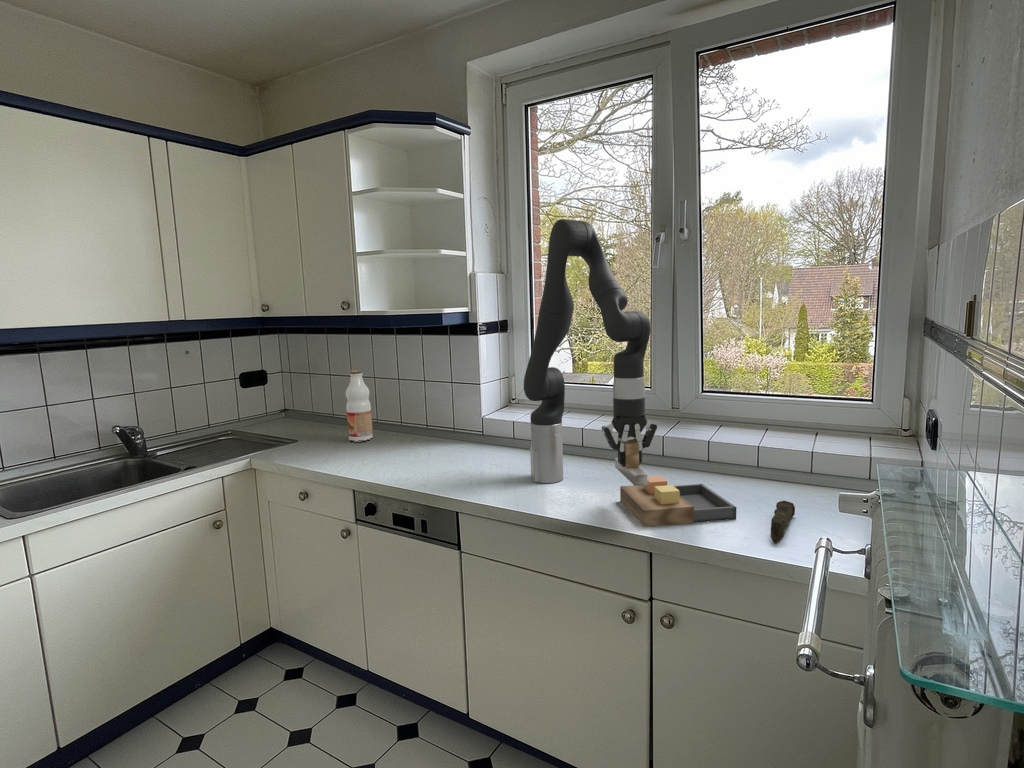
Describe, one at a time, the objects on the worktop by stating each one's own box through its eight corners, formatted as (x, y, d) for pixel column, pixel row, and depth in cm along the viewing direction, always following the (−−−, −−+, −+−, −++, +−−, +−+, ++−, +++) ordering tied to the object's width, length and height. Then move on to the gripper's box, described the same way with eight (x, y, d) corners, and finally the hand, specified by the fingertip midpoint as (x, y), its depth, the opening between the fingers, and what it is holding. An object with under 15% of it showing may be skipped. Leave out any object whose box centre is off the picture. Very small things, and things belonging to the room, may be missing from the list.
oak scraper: (634, 485, 134) (634, 450, 132) (615, 467, 149) (614, 434, 147) (647, 484, 134) (647, 449, 133) (626, 466, 149) (626, 434, 148)
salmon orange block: (649, 494, 145) (649, 482, 144) (643, 488, 149) (643, 477, 149) (667, 492, 145) (667, 481, 145) (660, 487, 150) (660, 475, 149)
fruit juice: (368, 442, 226) (363, 371, 222) (345, 443, 227) (339, 372, 223) (376, 437, 235) (371, 368, 231) (353, 437, 236) (348, 369, 232)
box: (693, 522, 136) (693, 510, 135) (664, 497, 153) (664, 486, 153) (736, 519, 137) (736, 507, 136) (702, 494, 155) (702, 483, 154)
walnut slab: (644, 527, 134) (644, 510, 134) (620, 501, 152) (620, 486, 151) (693, 522, 136) (693, 506, 135) (664, 497, 153) (664, 482, 153)
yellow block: (661, 504, 137) (661, 492, 137) (654, 498, 142) (654, 486, 141) (679, 502, 138) (679, 490, 137) (672, 496, 142) (672, 485, 142)
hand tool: (776, 514, 140) (777, 496, 139) (794, 517, 137) (795, 498, 137) (760, 543, 124) (760, 522, 124) (780, 547, 122) (781, 526, 121)
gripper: (651, 391, 143) (651, 459, 146) (596, 394, 142) (597, 463, 144) (663, 396, 136) (663, 467, 138) (605, 399, 134) (606, 471, 137)
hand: (629, 464), depth 141 cm, fingers closed on oak scraper, 3 cm apart
